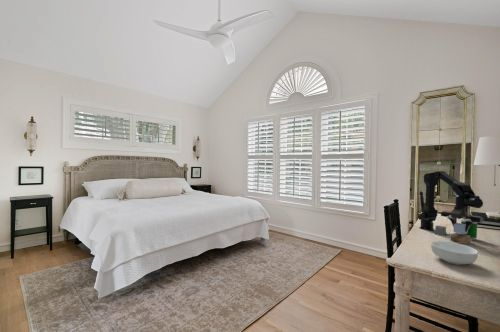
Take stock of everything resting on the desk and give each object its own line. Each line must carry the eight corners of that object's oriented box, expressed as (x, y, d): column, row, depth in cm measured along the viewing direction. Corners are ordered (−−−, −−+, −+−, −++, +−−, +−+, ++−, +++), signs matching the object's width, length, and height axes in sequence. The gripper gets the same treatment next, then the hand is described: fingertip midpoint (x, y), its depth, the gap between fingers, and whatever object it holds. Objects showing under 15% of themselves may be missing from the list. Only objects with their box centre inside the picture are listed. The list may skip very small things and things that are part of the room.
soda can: (477, 241, 146) (478, 221, 146) (461, 238, 150) (461, 219, 150) (475, 238, 152) (476, 219, 152) (460, 235, 156) (460, 217, 156)
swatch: (443, 236, 154) (443, 235, 154) (447, 235, 156) (447, 234, 156) (453, 238, 150) (453, 238, 150) (456, 237, 152) (456, 237, 152)
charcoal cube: (435, 234, 159) (435, 226, 159) (436, 232, 163) (436, 225, 163) (444, 235, 156) (444, 228, 156) (445, 234, 159) (446, 226, 159)
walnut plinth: (450, 240, 146) (450, 234, 146) (455, 239, 149) (455, 232, 149) (465, 244, 140) (465, 237, 140) (470, 242, 143) (470, 235, 143)
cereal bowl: (427, 260, 114) (428, 245, 114) (433, 252, 126) (434, 238, 126) (476, 273, 102) (477, 256, 102) (478, 262, 114) (478, 247, 114)
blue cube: (453, 231, 145) (453, 223, 145) (457, 230, 148) (457, 222, 148) (463, 234, 141) (464, 225, 141) (467, 233, 143) (467, 224, 143)
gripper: (436, 203, 148) (435, 228, 149) (476, 208, 132) (475, 237, 132) (445, 202, 154) (444, 226, 154) (484, 207, 137) (483, 234, 138)
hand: (460, 230), depth 144 cm, fingers closed on blue cube, 5 cm apart
